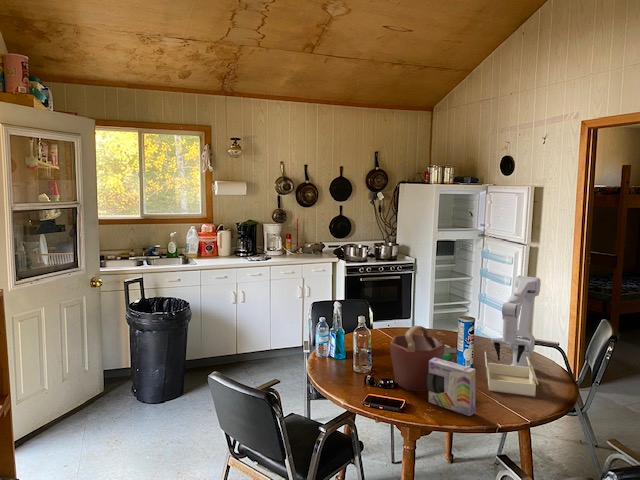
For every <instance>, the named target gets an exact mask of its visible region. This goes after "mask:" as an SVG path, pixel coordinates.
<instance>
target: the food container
mask: <svg viewBox="0 0 640 480" xmlns="http://www.w3.org/2000/svg"><path fill="white" fill-rule="evenodd" d="M439 341H440V342H441V343H442V344H444V354H443V358H442V360H445V361H449V362H453V363H456V358H457V357H456V355H457V352H458V351H457V347H454V348H453V346H450V345H449V344H445V343H444V342H443V340H439Z"/></svg>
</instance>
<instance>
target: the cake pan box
mask: <svg viewBox="0 0 640 480" xmlns="http://www.w3.org/2000/svg"><path fill="white" fill-rule="evenodd" d="M476 372H477V371H476V368H472V367H469V366H465V365H461V364H459V363H457V362H455V363H453V362H449V361H445V360H442V359H438V358H433V359H431V360H429V373H428V375H427V387H428V403H431V404H434V405H436V406H439V407H442V408H445V409H448V410H451V411H454V412H456V413H459V414H462V415H465V416H467V417H471V416H473V415H475V414H476Z"/></svg>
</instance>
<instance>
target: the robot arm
mask: <svg viewBox="0 0 640 480" xmlns="http://www.w3.org/2000/svg"><path fill="white" fill-rule="evenodd" d="M541 283H542V281H541V279H540V277H535V276H534V277H533V276H524V275H519V274H518V275H517V276H516V279H515V287H516V289H515V292H513V293H511V294H510V296H509V298H508V300H507V302H504V303H503V304H502V307H501V317H502V320H503V321H502V322H503V323H502V337H496V338H495V337H491V340H490V341H491V343H490V344H492V345H493V346H494V350H495V352H496V356H497V361H499V362H500V360H501V356H500V355H501V354H500V352H501V345H506V346H508V345H509V347H510V349H511V350H512V363H510V365H512V366H521V367H529V364H528V361H527V358H526V357H528V359H529V361H530V360H531V359H530V358H531V354H533V352H534V350H535V342H536V341H535V339H536V338H535V336H534V335H533V334H532V332H530V328H531V320H532V315H533V313H532V312H533V308H534V301H535V297H538V296H539V295H540V291H541V285H542V284H541ZM519 316H520V318H519ZM518 318H519V319H518ZM518 321H519V324H518ZM530 362H531V361H530Z"/></svg>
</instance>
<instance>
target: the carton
mask: <svg viewBox="0 0 640 480" xmlns="http://www.w3.org/2000/svg"><path fill="white" fill-rule="evenodd" d="M487 371H488V379H487V387H488V392H494V393H504V394H512V395H520V396H527V397H536V391H537V390H536V387H537V383H536V381H535V379H534V377H533V376H532V374H531V371H530V368H529V367H521V366H512V365H511V364H509V365H508V364H500V363H493V362H487Z"/></svg>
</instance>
